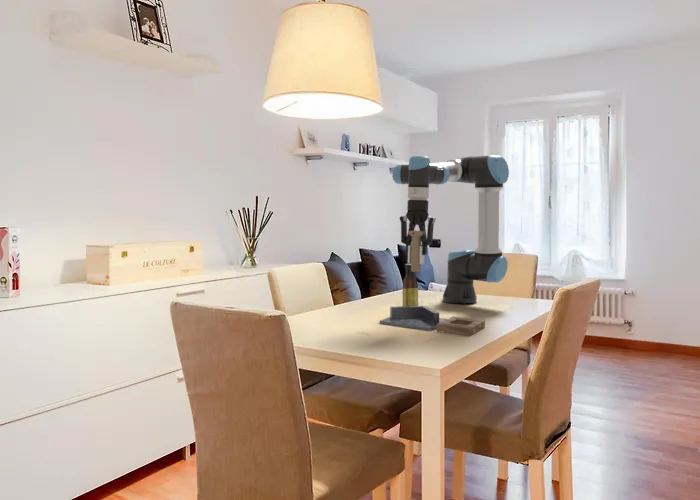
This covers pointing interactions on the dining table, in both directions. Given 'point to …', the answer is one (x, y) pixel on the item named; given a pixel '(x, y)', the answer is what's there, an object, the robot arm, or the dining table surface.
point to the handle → (415, 249)
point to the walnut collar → (461, 325)
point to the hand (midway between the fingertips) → (415, 263)
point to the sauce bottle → (410, 288)
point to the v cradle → (413, 317)
